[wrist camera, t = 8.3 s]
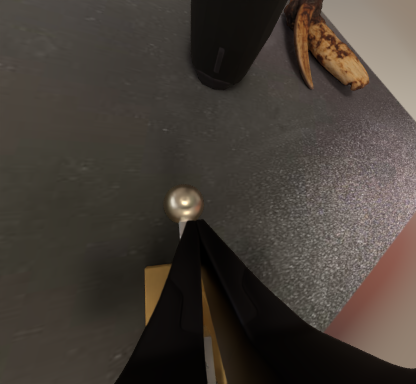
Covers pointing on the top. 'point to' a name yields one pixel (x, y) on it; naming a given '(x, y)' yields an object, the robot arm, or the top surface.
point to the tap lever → (180, 213)
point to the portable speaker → (229, 37)
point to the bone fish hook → (322, 45)
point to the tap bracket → (154, 287)
